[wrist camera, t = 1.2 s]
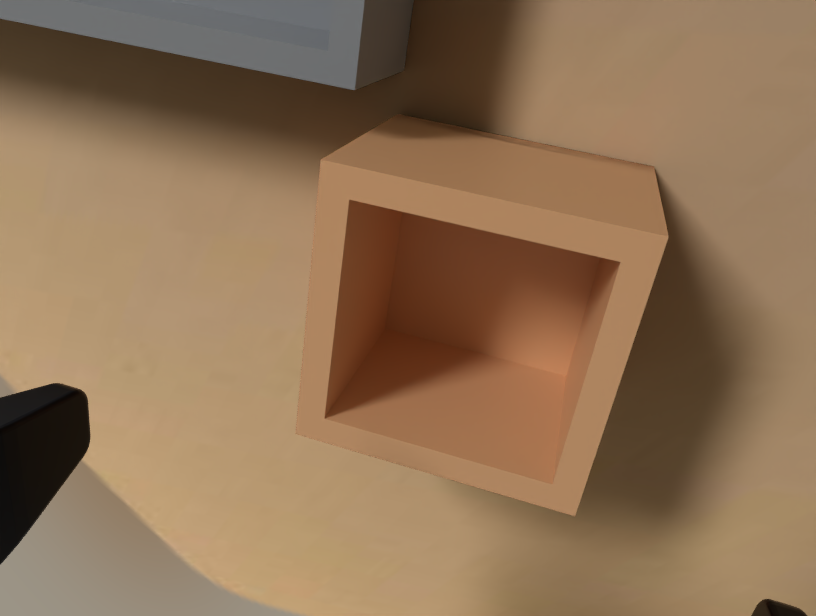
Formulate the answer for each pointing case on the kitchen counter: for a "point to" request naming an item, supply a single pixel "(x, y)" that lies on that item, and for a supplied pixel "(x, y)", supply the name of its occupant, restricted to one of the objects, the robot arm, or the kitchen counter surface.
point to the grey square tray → (246, 32)
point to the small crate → (475, 304)
